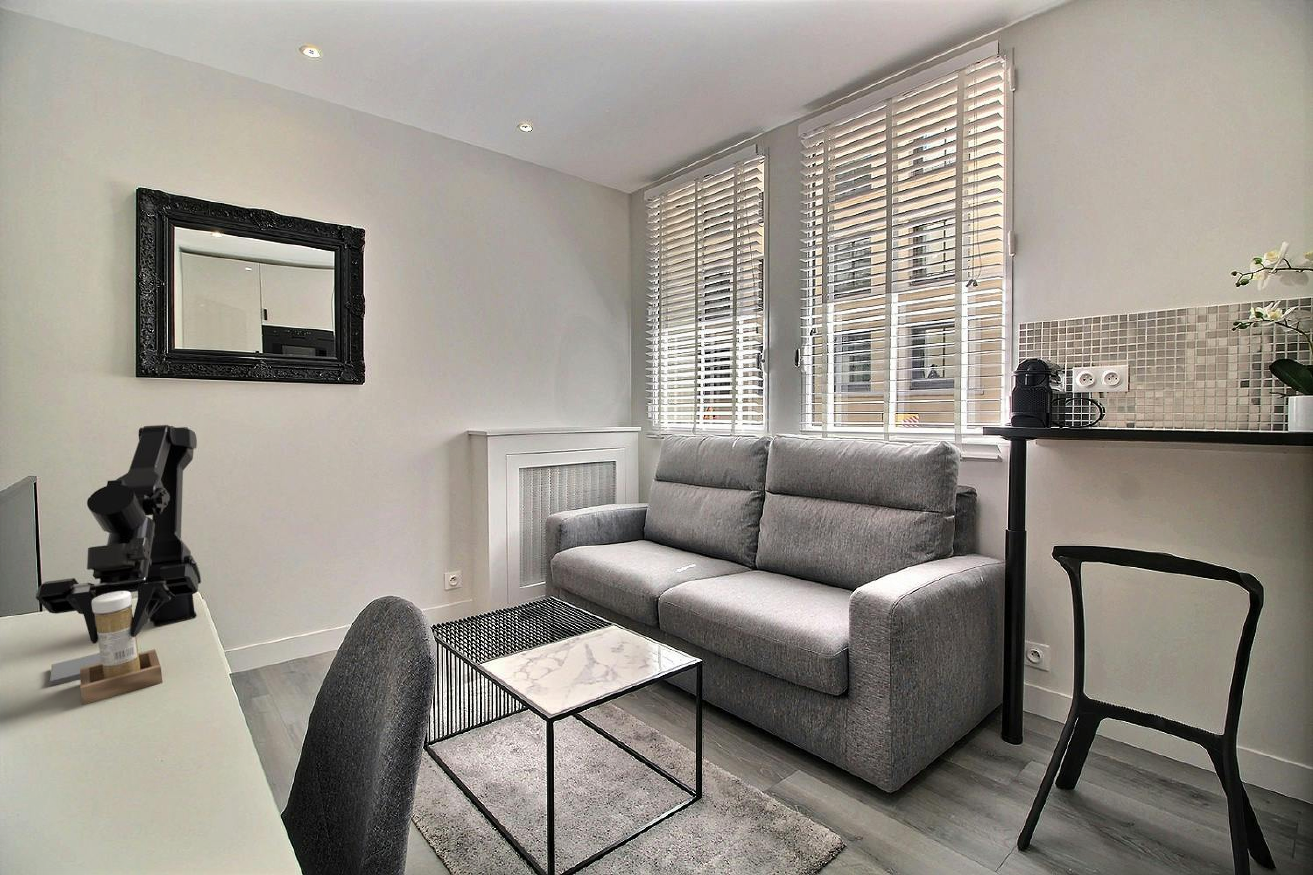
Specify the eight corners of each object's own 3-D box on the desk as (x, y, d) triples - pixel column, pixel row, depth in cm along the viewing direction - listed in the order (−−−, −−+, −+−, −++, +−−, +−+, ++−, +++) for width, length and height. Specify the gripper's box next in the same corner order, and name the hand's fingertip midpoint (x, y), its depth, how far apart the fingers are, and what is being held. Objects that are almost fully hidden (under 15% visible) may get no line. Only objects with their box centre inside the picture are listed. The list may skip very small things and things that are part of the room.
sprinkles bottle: (142, 669, 100) (131, 587, 98) (142, 680, 96) (131, 595, 94) (103, 679, 97) (91, 595, 95) (102, 690, 93) (90, 603, 92)
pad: (132, 649, 108) (131, 644, 108) (135, 663, 103) (135, 659, 102) (52, 669, 102) (51, 664, 102) (50, 686, 96) (50, 681, 96)
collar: (156, 663, 102) (155, 648, 102) (162, 682, 96) (160, 666, 96) (82, 683, 96) (80, 667, 96) (82, 704, 90) (80, 687, 90)
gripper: (32, 530, 93) (4, 629, 85) (185, 514, 101) (175, 603, 92) (62, 566, 101) (40, 660, 93) (202, 549, 109) (194, 634, 100)
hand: (113, 639), depth 94 cm, fingers closed on sprinkles bottle, 4 cm apart
